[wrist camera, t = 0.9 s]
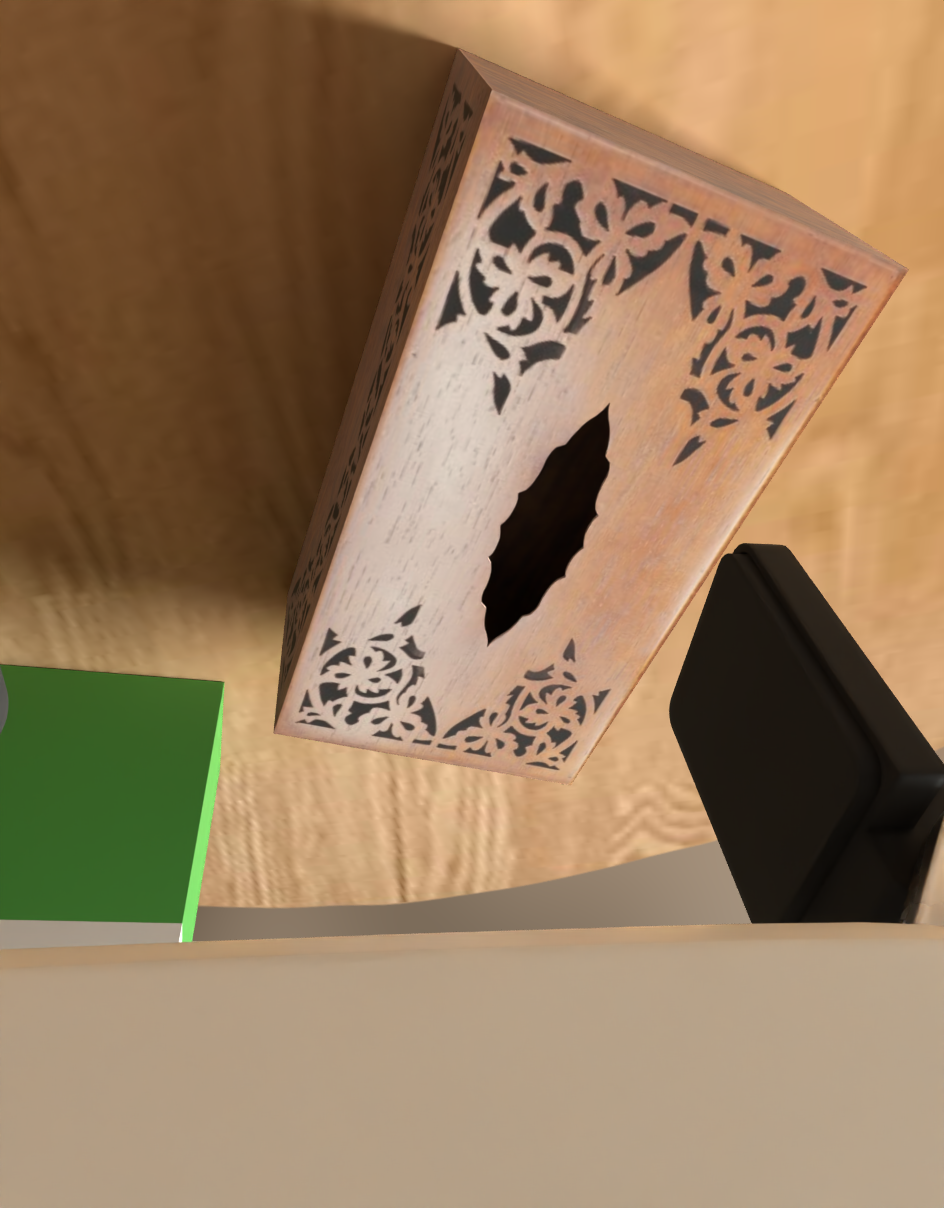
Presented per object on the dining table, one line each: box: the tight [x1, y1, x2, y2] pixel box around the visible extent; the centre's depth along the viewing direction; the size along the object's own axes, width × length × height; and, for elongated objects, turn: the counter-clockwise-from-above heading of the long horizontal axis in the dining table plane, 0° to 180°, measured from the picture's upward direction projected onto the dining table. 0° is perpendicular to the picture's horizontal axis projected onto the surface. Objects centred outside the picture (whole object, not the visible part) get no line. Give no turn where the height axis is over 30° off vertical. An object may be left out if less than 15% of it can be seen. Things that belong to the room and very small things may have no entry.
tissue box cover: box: [274, 48, 909, 785], centre depth 36 cm, size 26×14×10 cm, turn 159°
